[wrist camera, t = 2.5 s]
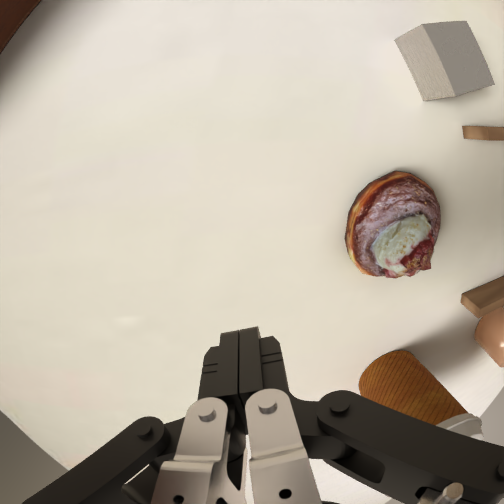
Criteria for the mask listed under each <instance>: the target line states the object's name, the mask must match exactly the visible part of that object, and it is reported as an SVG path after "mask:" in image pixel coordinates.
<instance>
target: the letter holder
mask: <svg viewBox="0 0 504 504" xmlns="http://www.w3.org/2000/svg"><path fill="white" fill-rule="evenodd" d="M40 2H41V0H0V54H1V52H2V51H3V49H4V48H5V46H6V45H7V43H8V42H9V40H10V39H11V38H12V36H13V35H14V33H15V32H16V31H17V29H18V28H19V27H20V25H21V24H22V23H23V22H24V20H25V19H26V18H27V17H28V16H29V14H30V13H31V12H32V11H33V9H34V8H35V7H36V6H37V5H38V4H39V3H40Z"/></svg>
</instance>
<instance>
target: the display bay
mask: <svg viewBox="0 0 504 504" xmlns="http://www.w3.org/2000/svg"><path fill="white" fill-rule="evenodd" d="M462 127H463V134H464V138H466V139H479V140H504V127H485V126H462ZM461 303H462V304H463V305H464V306H465V307H466V308H467V309H468V310H469V311H471V312H472V313H473V314H474V315H475V316H476V317H477V318H480V317H482V316H484V315H486V314H488V313H490V312H492V311H494V310H496V309H498V308H500V307H502V306H504V276H502V277H500V278H498V279H496V280H494V281H491V282H489V283H487V284H484V285H482V286H480V287H477V288H475V289H473V290H470V291H468V292H465V293H463V294H462V298H461Z"/></svg>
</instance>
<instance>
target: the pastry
mask: <svg viewBox="0 0 504 504" xmlns="http://www.w3.org/2000/svg"><path fill="white" fill-rule="evenodd" d="M440 220H441V215H440V206H439V203H438V201H437V198H436V196H435V194H434V191H433V190H432V189H431V188H430V187H429V186H428V185H427V184H426V183H425V182H424V181H422V180H421V179H419V178H417V177H416V176H414V175H412V174H411V173H405V172H399V171H393V172H391V173H389V174H387V175H385V176H383V177H381V178H379V179H377V180H375V181H373V182H371V183H369V184H368V185H367V186H366V187H365V188H364V189H363V190H362V191H361V192H360V193H359V194H358V195H357V197H356V199H355V201H354V203H353V205H352V206H351V208H350V210H349V213H348V220H347V227H346V233H345V242H346V247H347V251H348V254H349V257H350V259H351V260H352V261H353V262H354V264H355V265H356V266H357V267H358V269H359V270H360V271H361V272H362V274H367V275H372V276H386V277H387V278H398V277H401V276H404V275H407V276H409V277H411V276H413V275H415V274H416V273H418V272H419V271H420V270H428V269H431V263H430V260H431V257H432V255H433V252H434V246H435V243H436V240H437V237H438V233H439V229H440Z"/></svg>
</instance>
